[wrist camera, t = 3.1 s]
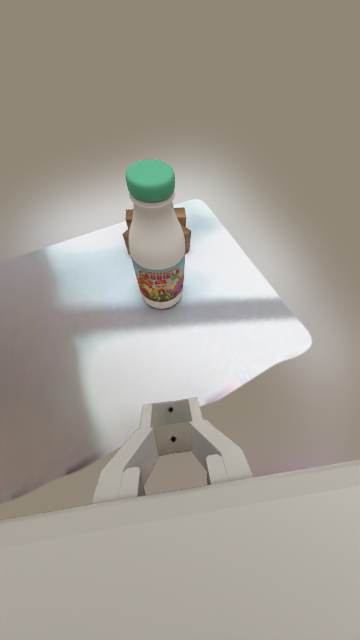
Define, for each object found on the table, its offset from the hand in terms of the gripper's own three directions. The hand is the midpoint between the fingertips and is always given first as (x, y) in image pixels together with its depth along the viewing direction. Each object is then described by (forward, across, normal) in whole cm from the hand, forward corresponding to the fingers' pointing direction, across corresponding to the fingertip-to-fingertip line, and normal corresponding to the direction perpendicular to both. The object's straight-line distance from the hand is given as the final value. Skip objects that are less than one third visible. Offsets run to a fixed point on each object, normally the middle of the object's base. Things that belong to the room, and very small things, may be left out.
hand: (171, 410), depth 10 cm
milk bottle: (+27, 0, -3) cm, 27 cm away
